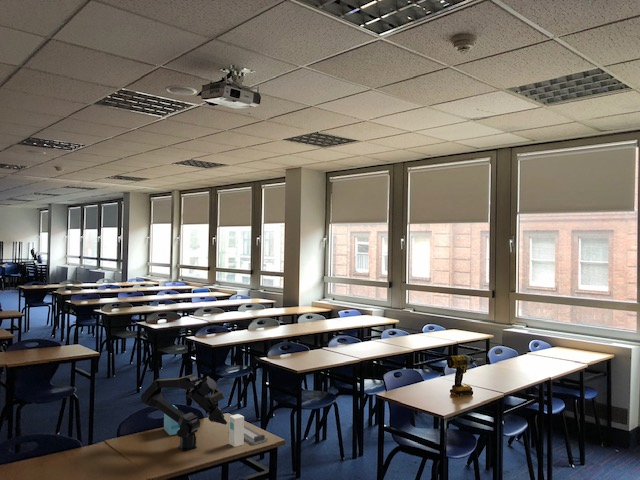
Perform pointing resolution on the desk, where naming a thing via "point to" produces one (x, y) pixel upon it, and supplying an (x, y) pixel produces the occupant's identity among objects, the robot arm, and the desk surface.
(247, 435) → the mounting plate
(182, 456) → the desk surface
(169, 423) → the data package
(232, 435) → the block
